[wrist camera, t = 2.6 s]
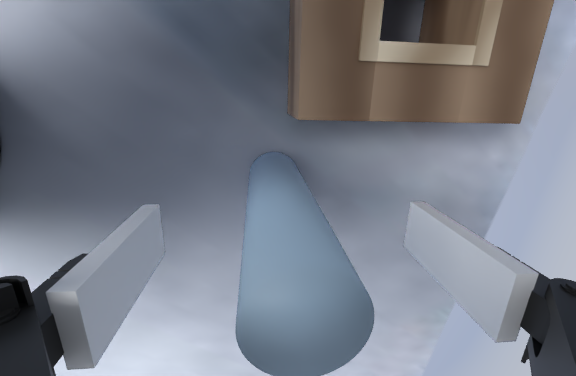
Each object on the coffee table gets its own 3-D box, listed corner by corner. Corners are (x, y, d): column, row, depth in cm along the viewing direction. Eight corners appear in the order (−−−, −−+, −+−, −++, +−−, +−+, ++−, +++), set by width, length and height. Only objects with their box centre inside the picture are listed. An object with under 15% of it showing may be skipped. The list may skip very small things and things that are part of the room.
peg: (249, 198, 24) (237, 384, 8) (248, 151, 22) (232, 269, 7) (297, 198, 24) (366, 373, 9) (298, 152, 23) (382, 263, 8)
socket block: (287, 113, 22) (298, 120, 16) (292, -121, 17) (311, -232, 11) (455, 116, 23) (522, 123, 17) (499, -98, 19) (609, -186, 13)
